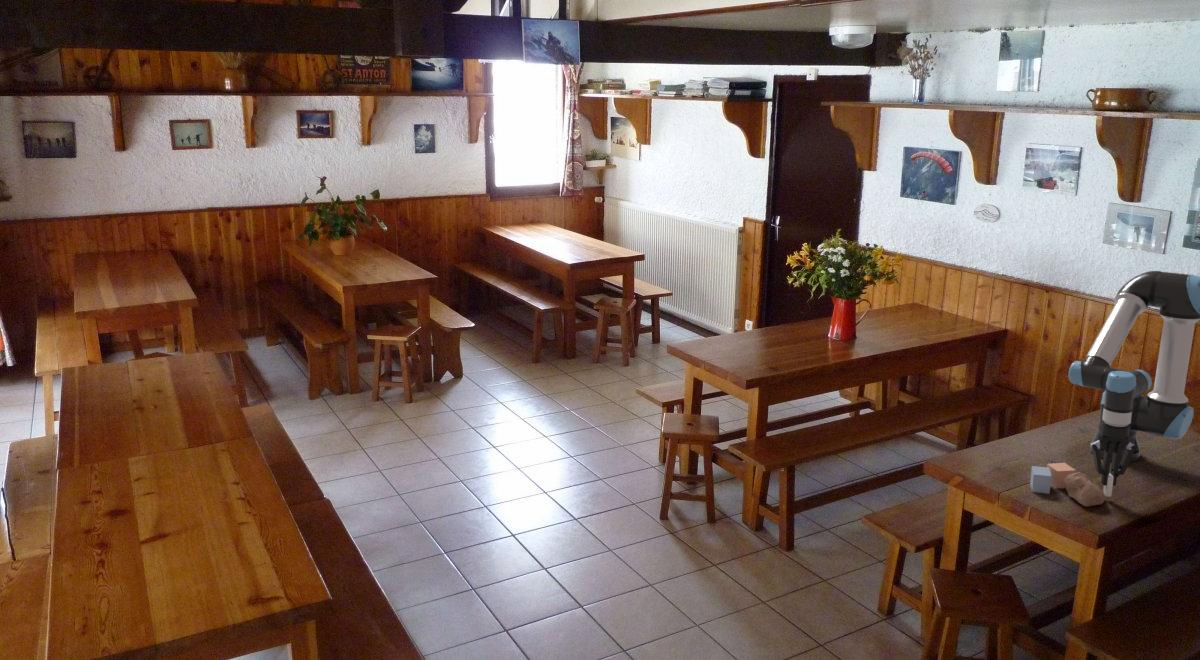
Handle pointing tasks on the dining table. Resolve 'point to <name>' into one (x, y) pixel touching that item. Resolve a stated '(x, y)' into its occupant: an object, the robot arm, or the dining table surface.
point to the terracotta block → (1059, 474)
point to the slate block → (1040, 479)
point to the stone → (1083, 489)
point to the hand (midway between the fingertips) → (1107, 494)
